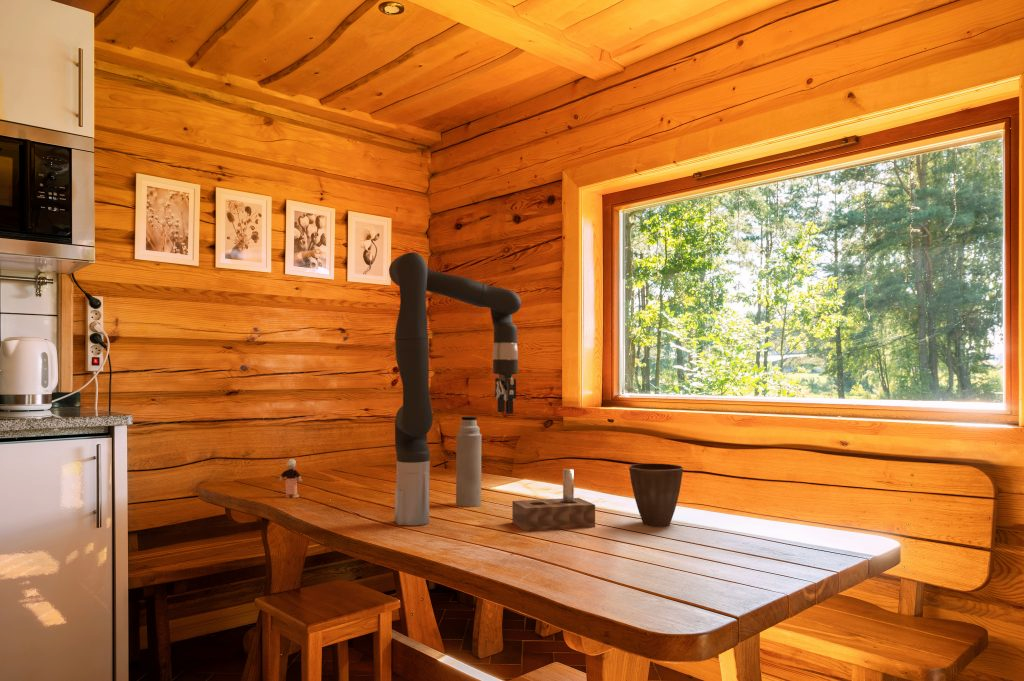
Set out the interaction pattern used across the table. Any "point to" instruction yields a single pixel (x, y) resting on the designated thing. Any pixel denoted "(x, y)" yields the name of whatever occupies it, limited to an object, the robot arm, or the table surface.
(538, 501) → the walnut bore block
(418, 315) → the robot arm
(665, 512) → the plant pot
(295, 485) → the grandmother figurine
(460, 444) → the thermos bottle
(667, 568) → the table surface
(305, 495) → the table surface
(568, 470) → the metal pin
